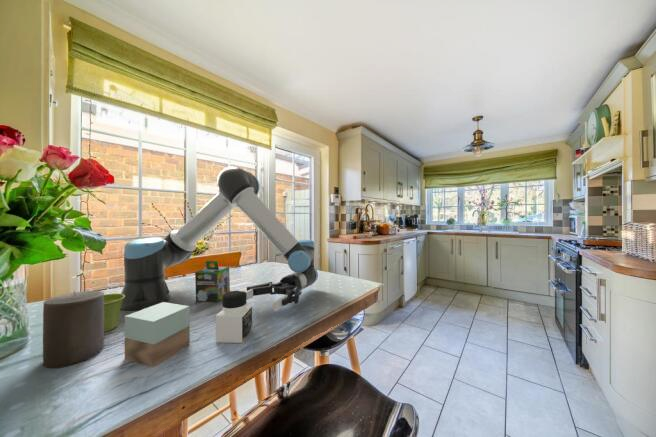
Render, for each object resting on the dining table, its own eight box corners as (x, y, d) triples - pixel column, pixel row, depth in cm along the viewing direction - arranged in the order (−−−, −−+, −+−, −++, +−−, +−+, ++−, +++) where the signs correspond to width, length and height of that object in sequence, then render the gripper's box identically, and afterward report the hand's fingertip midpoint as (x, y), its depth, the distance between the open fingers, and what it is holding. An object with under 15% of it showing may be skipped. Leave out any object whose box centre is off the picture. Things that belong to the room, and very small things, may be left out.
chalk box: (230, 294, 97) (230, 258, 96) (217, 302, 88) (217, 263, 87) (209, 293, 98) (209, 257, 97) (194, 301, 88) (194, 262, 88)
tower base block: (124, 360, 54) (124, 338, 53) (163, 340, 62) (163, 321, 62) (153, 368, 51) (153, 345, 51) (189, 346, 59) (189, 326, 59)
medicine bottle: (242, 343, 60) (242, 296, 60) (215, 343, 60) (214, 296, 60) (252, 329, 67) (252, 288, 67) (227, 329, 67) (227, 287, 67)
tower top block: (124, 337, 54) (124, 316, 54) (163, 320, 62) (163, 302, 62) (153, 344, 51) (153, 321, 51) (189, 325, 59) (189, 306, 59)
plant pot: (121, 318, 74) (121, 291, 74) (128, 328, 68) (128, 298, 68) (78, 329, 67) (77, 299, 67) (81, 341, 61) (81, 307, 61)
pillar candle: (48, 374, 48) (48, 301, 48) (38, 358, 53) (38, 292, 53) (110, 351, 57) (111, 289, 56) (96, 339, 62) (97, 282, 61)
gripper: (322, 298, 85) (290, 323, 66) (266, 289, 95) (224, 308, 76) (322, 277, 85) (290, 296, 66) (266, 270, 95) (224, 285, 75)
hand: (255, 302), depth 71 cm, fingers open, 13 cm apart
